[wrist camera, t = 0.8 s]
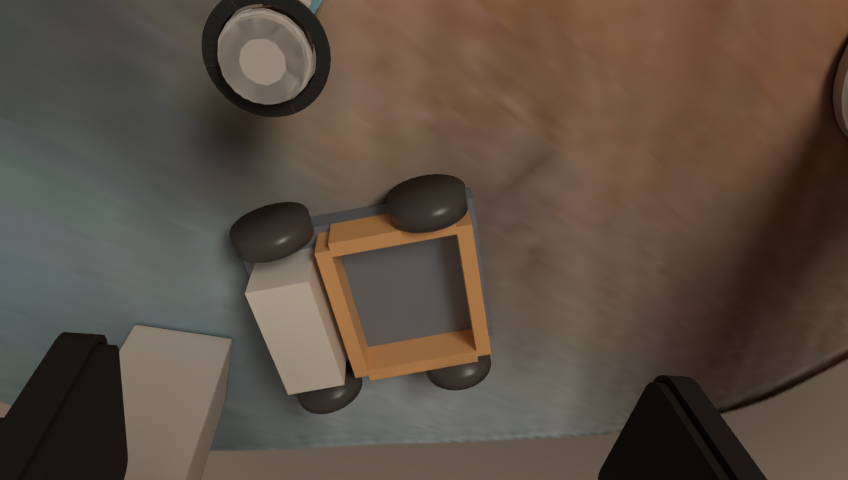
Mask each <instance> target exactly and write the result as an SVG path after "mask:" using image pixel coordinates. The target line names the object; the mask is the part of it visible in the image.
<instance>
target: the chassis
mask: <svg viewBox="0 0 848 480" xmlns="http://www.w3.org/2000/svg"><path fill="white" fill-rule="evenodd" d="M386 202H387V203H385V204H379V205H374V206H368V207H363V208H358V209H352V210H347V211H342V212H336V213H331V214H326V215H320V216H315V217H310V215H309V212H308V209H307V208H306V207H305V206H304V205H302V204H299V203H294V202H283V203H275V204H271V205H267V206H264V207H261V208H258V209H256V210H254V211H251V212H249V213H248V214H246V215H244V216H243V217H241V218H240V219H239V220H238V221H236V222H235V223H234V225H233V226H232V228H231V230H230V237H231V239H232V242H233V244H234V247H235V249H236V251H237V254H238V256H239V257H240V258H241V259H242V261H243V263H244V266H245V268H246V271H247V273H248V275H249V278H250V279H249V282H248V285H247V288H246V291H245V295H246V298H247V300H248V302H249V305H250V307H251V309H252V312H253V314H254V316H255V319H256V321H257V323H258V326H259V328H260V330H261V333H262V335H263V337H264V340H265V342H266V344H267V347H268V349H269V351H270V354H271V356H272V358H273V361H274V363H275V365H276V368H277V370H278V372H279V375H280V377H281V379H282V382H283V384H284V386H285V389H286V391H287V393H288V395H291V394H296V395H297V398H298V400H299V402H300V404H301V406H302V407H303V408H304V409H305V410H307V411H308V412H311V413H315V414H327V413H332V412H335V411H338V410H340V409H342V408H344V407H345V406H347V405H348V404H350V403H351V402H352V401H353V400H354V399H355V398H356V397H357V395H358V394H359V392H360V390H361V387H362V377H365V376H369V378H370V381H371V380H377V379H382V378H388V377H393V376H399V375H405V374H410V373H416V372H422V371H426V373H427V376H428V378H429V380H430V381H431V382H432V383H433V384H435V385H436V386H438V387H440V388H443V389H447V390H463V389H467V388H470V387H473V386H475V385H477V384H478V383H480V382H481V381H482V380H483V379H484V378H485V377H486V376H487V375H488V373H489V371H490V368H491V359H490V354H491V350H490V343H489V336H490V335H493V334H492V327H491V320H490V313H489V306H488V299H487V292H486V285H485V278H484V270H483V263H482V256H481V249H480V242H479V235H478V228H477V221H476V214H475V207H474V199H473V195H472V192H471V189H470V188H465V185H464V183H463V182H462V181H461V180H460V179H458V178H456V177H454V176H450V175H442V174H434V175H425V176H420V177H416V178H412V179H409V180H407V181H404V182H402V183H400V184H399V185H397V186H395V187H394V188H393V189H392V190H391V191H390V192H389V193H388V195H387V197H386Z"/></svg>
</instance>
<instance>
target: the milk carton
mask: <svg viewBox="0 0 848 480" xmlns="http://www.w3.org/2000/svg"><path fill="white" fill-rule="evenodd" d="M231 348H232V339H229V338H222V337H216V336H209V335H202V334H196V333H189V332H182V331H175V330H168V329H162V328H155V327H148V326H141V325H134V327H133V328H132V330H131V332H130V334H129V335H128V337H127V339H126V341H125V342H124V344H123V346H122V348H121V349H120V351H119V356H120V368H121V380H122V391H123V403H124V414H125V426H126V438H127V449H128V465H127V470H126V474H125V478H124V480H201V477H202V474H203V471H204V468H205V464H206V461H207V458H208V454H209V451H210V448H211V445H212V441H213V438H214V435H215V432H216V428H217V425H218V422H219V418H220V415H221V412H222V409H223V405H224V402H225V396H226V388H227V380H228V372H229V364H230V356H231Z"/></svg>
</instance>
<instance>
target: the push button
mask: <svg viewBox="0 0 848 480" xmlns="http://www.w3.org/2000/svg"><path fill="white" fill-rule="evenodd" d="M321 2H322V0H222V1H221V2H220V3H219V4H218V5H217V6H216V7H215V8H214V9H213V11H212V12H211V14H210V15H209V17H208V19H207V21H206V24H205V26H204V30H203V35H202V55H203V60H204V63H205V66H206V69H207V72H208V74H209V76H210V78H211V80H212V81H213V83H214V84H215V86H216V87H217V88H218V90H219V91H220V92H221V93H222V94H223V95H224V96H225V97H226V98H227V99H228V100H229V101H231V102H232V103H233V104H235V105H236V106H238V107H240V108H241V109H243V110H245V111H248V112H250V113H253V114H256V115H260V116H266V117H281V116H287V115H291V114H294V113H297V112H299V111H301V110H303V109H305V108H306V107H307V106H309V105H310V104H311V103H312V102H314V100H315V99H316V98H317V97H318V96H319V94H320V93H321V92H322V90H323V88H324V86H325V84H326V81H327V78H328V75H329V70H330V62H331V56H330V47H329V43H328V39H327V36H326V33H325V31H324V29H323V27H322V25H321V24H320V22H319V20H318V19H317V18H316V16H315V15H314V13H315V12H316V10H317V9H318V8H319V6H320V4H321ZM254 4H264V5H263V6H262V7H256V8H252V9H250V10H245V11H242V12H240V13H239V14H237V15H236V16H234V17H233V18H231V17H232V15H233V14H234V13H235V12H236V10H238V9H240V8H242V7H245V6H248V5H254ZM230 18H231V19H230ZM313 44H314V47H315V51H316V70H315V73H314V74H313V76H312V78H311V79H310V80H309V78H310V76H311V73H312V69H313V61H312V53H313V48H314V47H313Z"/></svg>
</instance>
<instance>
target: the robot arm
mask: <svg viewBox="0 0 848 480" xmlns="http://www.w3.org/2000/svg"><path fill="white" fill-rule="evenodd" d="M833 106H834V113H835V117H836V120H837V122H838V124H839V127H840V129H841V130H842V132H843V133H844V134H845V135H846V136H847V137H848V45H847V47H846V49H845V51H844V54H843V56H842V58H841V61H840V63H839V66H838V70H837V73H836V77H835V81H834V89H833ZM127 465H128V449H127V438H126V426H125V414H124V403H123V391H122V380H121V368H120V356H119V349H118V346H116V345H108V344H107V339H106V337H105V336H104V335H97V334H83V333H69V332H63V333H61V334H60V335H59V336H58V337H57V339H56V340H55V342H54V343H53V345H52V346H51V348H50V349H49V351H48V352H47V354H46V355H45V357H44V358H43V360H42V361H41V363H40V364H39V366H38V367H37V369H36V370H35V372H34V373H33V375H32V376H31V378H30V379H29V381H28V382H27V384H26V386H25V387H24V389H23V390H22V392H21V393H20V395H19V396H18V398H17V399H16V401H15V402H14V404H13V405H12V407H11V408H10V410H9V411H8V413H7V414H6V416H5V417H4V418H0V480H124V478H125V474H126V470H127ZM598 480H767V479H766V477H765V476H764V474H763V473H762V472H761V470H760V469H759V468H758V466H757V465H756V464H755V462H754V461H753V459H752V458H751V457H750V455H749V454H748V453H747V451H746V450H745V448H744V447H743V446H742V444H741V443H740V441H739V440H738V439H737V437H736V436H735V435H734V433H733V432H732V430H731V429H730V428H729V426H728V425H727V424H726V422H725V421H724V419H723V418H722V417H721V415H720V414H719V413H718V411H717V410H716V408H715V407H714V406H713V404H712V403H711V401H710V400H709V399H708V397H707V396H706V395H705V393H704V392H703V390H702V389H701V388H700V386H699V385H698V384H697V383H696V382H695V381H694V379H692V378H690V377H680V376H666V375H660V376H658V377H656V378H655V380H654V381H653V382H651V383H649V384H648V385H647V386H646V388H645V390H644V391H643V393H642V395H641V397H640V399H639V400H638V402H637V404H636V406H635V408H634V410H633V411H632V413H631V415H630V417H629V419H628V421H627V422H626V424H625V426H624V428H623V430H622V431H621V433H620V435H619V437H618V439H617V441H616V443H615V444H614V446H613V448H612V450H611V452H610V453H609V455H608V457H607V459H606V461H605V463H604V464H603V466H602V468H601V470H600V472H599V477H598Z"/></svg>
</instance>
